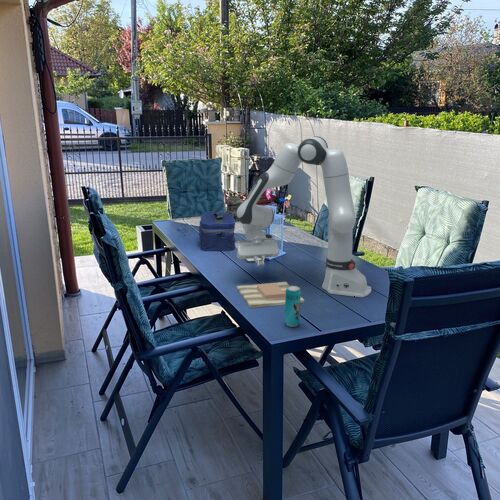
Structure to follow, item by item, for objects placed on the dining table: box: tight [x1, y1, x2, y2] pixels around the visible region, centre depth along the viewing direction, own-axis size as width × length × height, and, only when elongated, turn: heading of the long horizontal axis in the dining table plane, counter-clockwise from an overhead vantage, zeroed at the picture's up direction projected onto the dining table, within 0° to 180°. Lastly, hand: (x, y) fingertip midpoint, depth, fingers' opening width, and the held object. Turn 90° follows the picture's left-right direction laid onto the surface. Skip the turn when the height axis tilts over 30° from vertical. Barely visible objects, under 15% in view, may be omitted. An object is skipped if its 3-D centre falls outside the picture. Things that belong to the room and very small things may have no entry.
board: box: [236, 281, 305, 309], centre depth 217 cm, size 24×24×1 cm
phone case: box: [243, 258, 263, 264], centre depth 272 cm, size 9×2×16 cm
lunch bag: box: [198, 212, 236, 252], centre depth 293 cm, size 31×21×20 cm
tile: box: [257, 283, 285, 301], centre depth 215 cm, size 9×2×13 cm
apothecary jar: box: [224, 195, 243, 223], centre depth 362 cm, size 12×12×18 cm
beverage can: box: [284, 285, 302, 328], centre depth 186 cm, size 6×6×15 cm
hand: (260, 265), depth 227 cm, fingers closed
